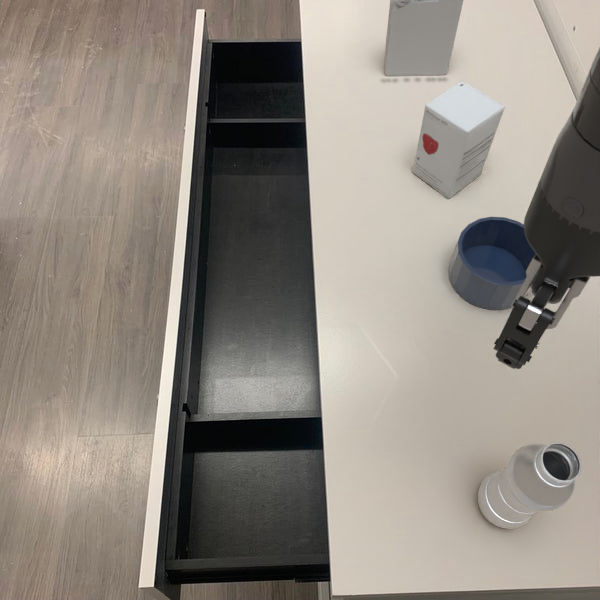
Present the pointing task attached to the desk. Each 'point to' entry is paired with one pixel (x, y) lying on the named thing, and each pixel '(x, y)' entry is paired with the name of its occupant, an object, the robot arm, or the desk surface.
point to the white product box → (456, 138)
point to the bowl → (490, 262)
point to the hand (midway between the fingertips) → (530, 325)
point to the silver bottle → (529, 484)
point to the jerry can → (420, 36)
